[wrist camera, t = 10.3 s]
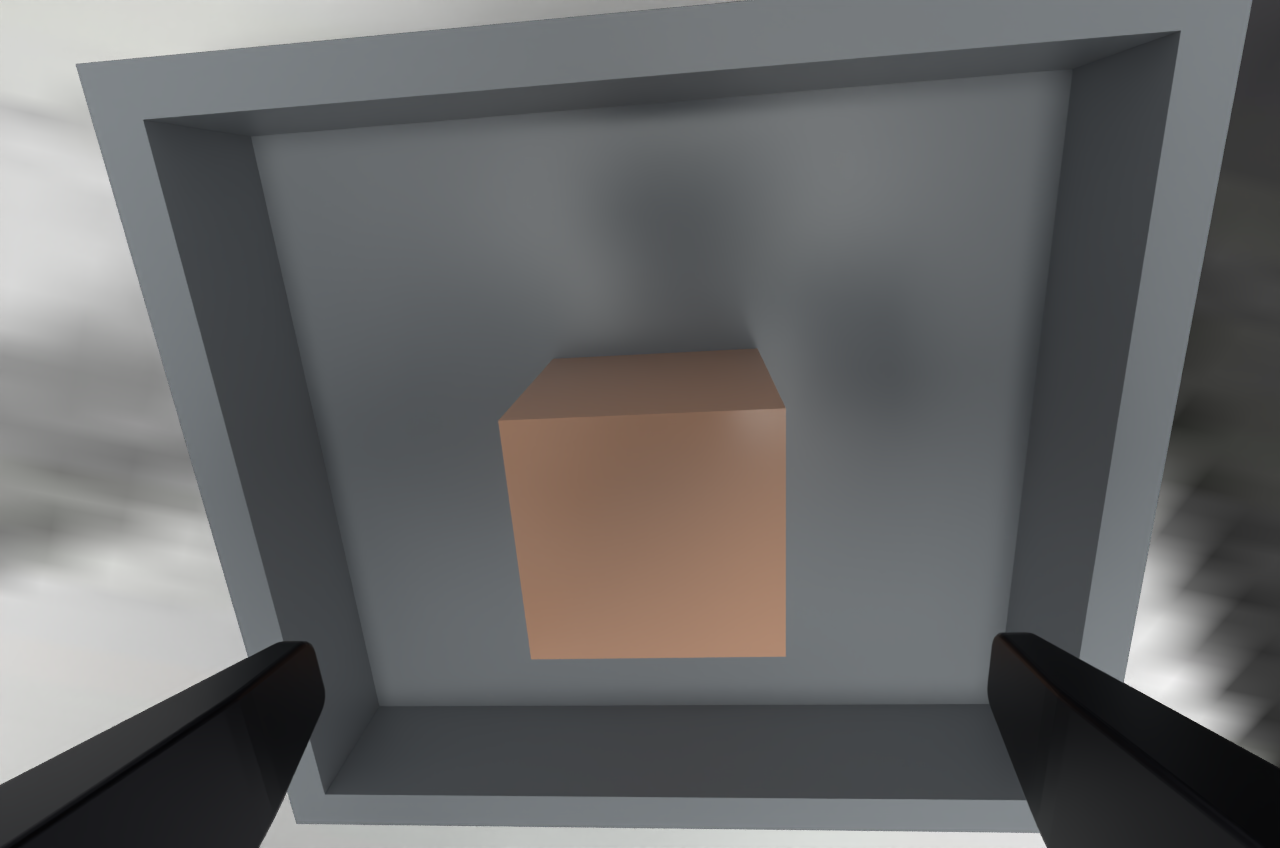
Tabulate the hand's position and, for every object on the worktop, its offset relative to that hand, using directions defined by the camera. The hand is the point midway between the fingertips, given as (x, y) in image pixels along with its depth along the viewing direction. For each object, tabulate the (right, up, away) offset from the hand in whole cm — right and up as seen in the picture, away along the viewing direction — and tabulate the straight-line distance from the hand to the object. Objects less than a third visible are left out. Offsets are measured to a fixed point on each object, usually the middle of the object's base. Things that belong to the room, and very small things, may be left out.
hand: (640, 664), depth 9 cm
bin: (+1, +3, +9) cm, 9 cm away
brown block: (0, +2, +8) cm, 9 cm away
